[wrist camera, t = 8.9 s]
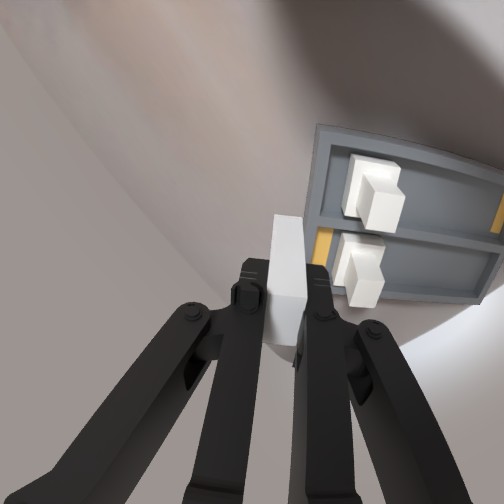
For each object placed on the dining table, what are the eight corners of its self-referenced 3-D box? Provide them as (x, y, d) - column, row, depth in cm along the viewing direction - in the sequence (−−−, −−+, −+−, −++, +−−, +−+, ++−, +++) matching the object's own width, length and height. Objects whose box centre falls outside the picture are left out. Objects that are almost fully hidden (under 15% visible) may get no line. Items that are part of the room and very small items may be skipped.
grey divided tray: (316, 123, 25) (320, 130, 22) (514, 174, 24) (531, 186, 21) (295, 269, 34) (294, 290, 31) (469, 287, 32) (479, 304, 30)
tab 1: (350, 153, 24) (367, 175, 19) (393, 161, 24) (418, 185, 19) (341, 205, 27) (352, 239, 22) (381, 211, 27) (400, 245, 22)
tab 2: (341, 230, 28) (351, 267, 23) (380, 235, 28) (397, 272, 23) (331, 273, 31) (337, 313, 26) (367, 276, 31) (379, 316, 26)
